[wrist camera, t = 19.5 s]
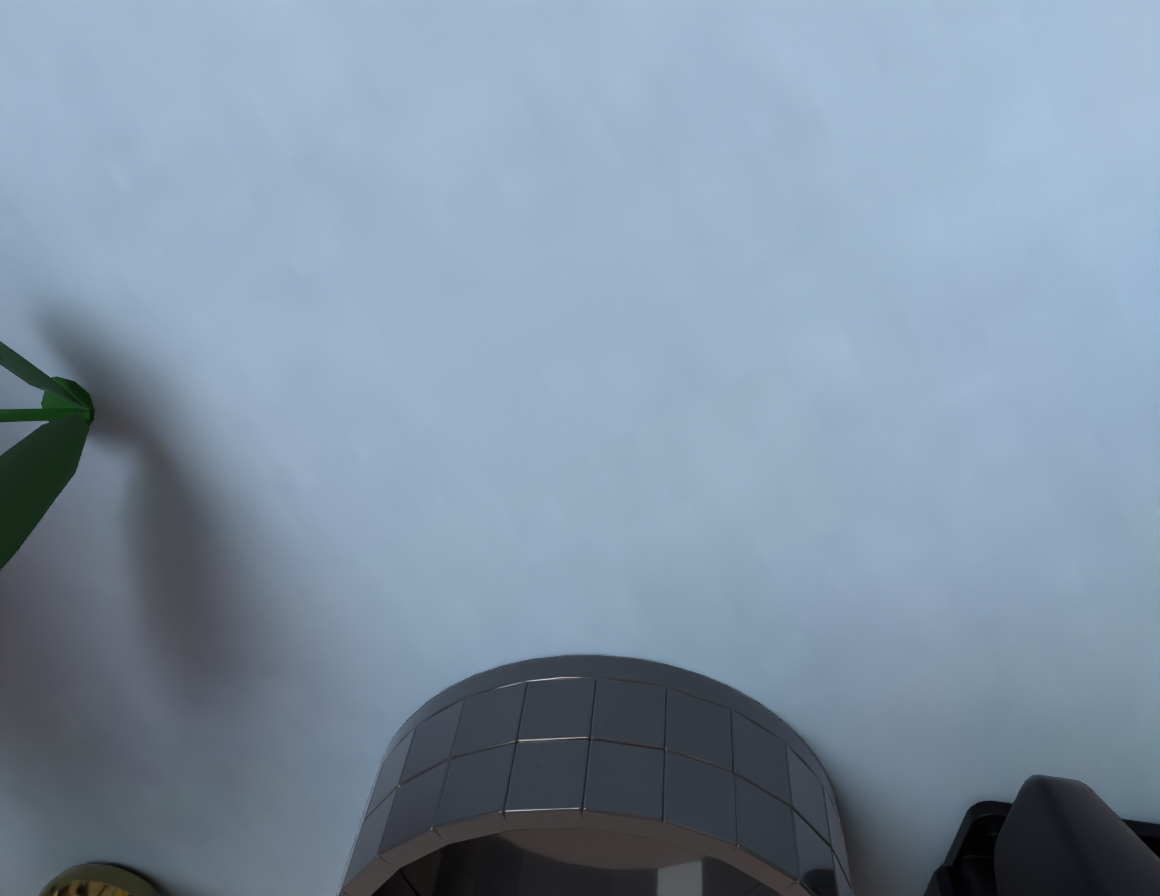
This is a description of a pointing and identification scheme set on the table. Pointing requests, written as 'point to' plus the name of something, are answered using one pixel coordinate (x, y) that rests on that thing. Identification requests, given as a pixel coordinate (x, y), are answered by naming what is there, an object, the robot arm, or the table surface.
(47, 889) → the cup
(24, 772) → the table surface
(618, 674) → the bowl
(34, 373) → the flower
